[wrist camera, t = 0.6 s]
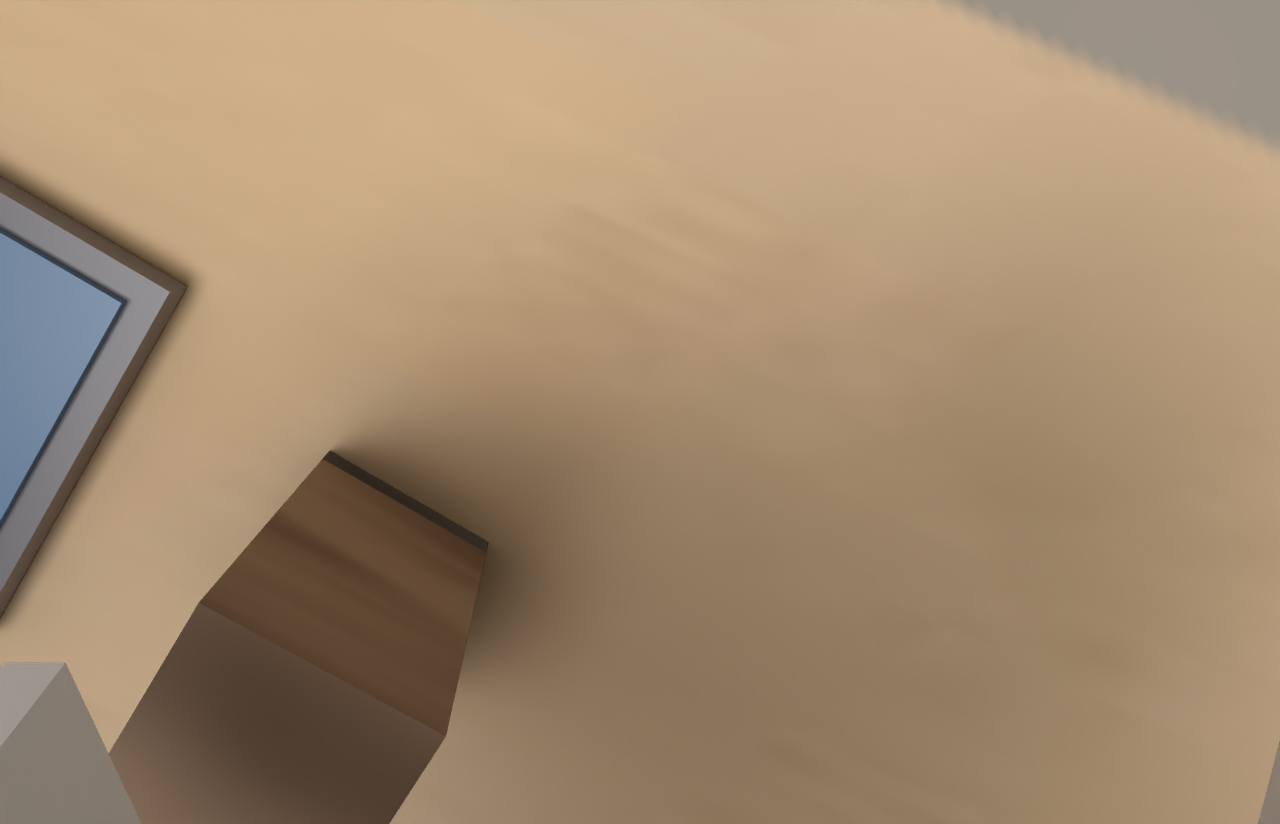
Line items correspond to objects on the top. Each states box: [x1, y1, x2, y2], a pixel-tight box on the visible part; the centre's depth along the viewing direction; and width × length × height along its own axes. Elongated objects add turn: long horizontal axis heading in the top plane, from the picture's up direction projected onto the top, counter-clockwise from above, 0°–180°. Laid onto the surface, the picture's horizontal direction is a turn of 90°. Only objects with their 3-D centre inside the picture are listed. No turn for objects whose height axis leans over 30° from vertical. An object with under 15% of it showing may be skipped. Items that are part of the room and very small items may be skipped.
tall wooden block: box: [109, 451, 489, 824], centre depth 24 cm, size 4×4×10 cm
